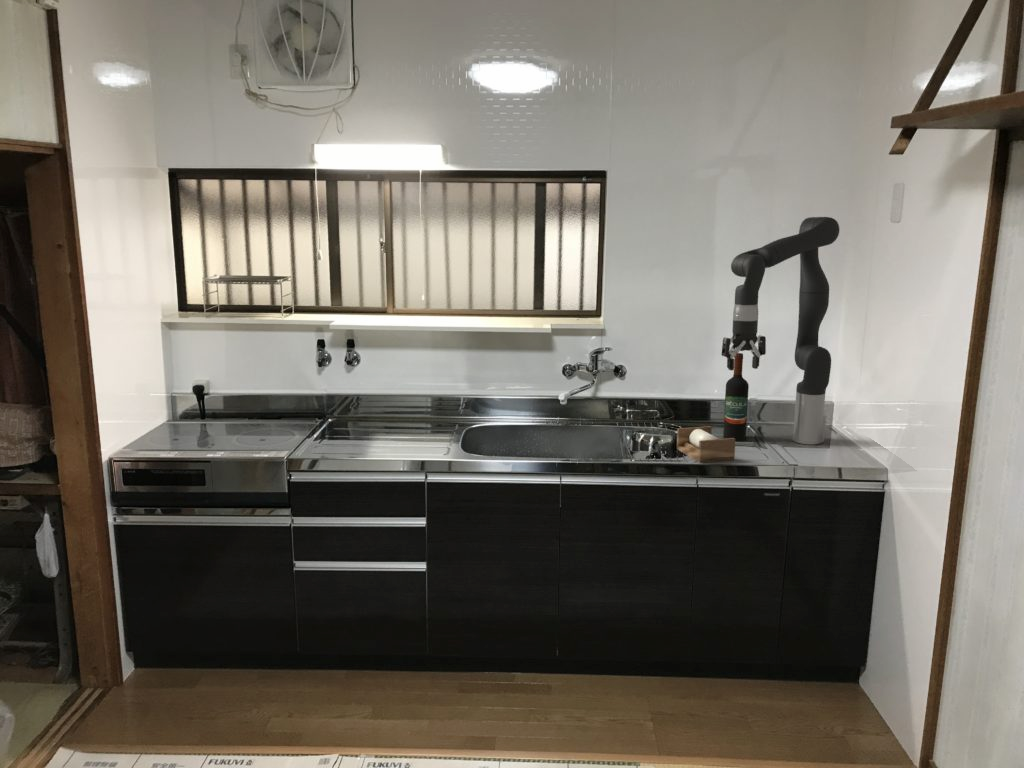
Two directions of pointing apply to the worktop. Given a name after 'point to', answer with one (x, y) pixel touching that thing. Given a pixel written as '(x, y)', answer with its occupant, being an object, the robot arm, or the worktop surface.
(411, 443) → the worktop surface
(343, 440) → the worktop surface
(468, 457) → the worktop surface
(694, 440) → the white cylinder
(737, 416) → the wine bottle
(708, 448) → the walnut cradle
